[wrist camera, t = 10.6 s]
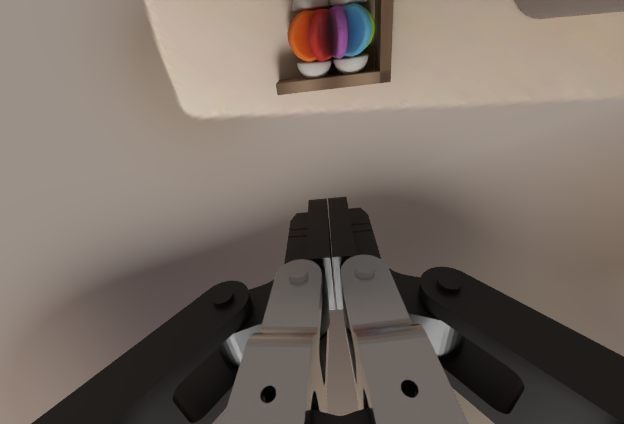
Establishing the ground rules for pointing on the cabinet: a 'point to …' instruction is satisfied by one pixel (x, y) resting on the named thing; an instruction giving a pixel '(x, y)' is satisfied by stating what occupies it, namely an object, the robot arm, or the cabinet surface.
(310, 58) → the rainbow disc stack
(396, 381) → the robot arm
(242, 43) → the cabinet surface
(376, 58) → the bay
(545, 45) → the cabinet surface
